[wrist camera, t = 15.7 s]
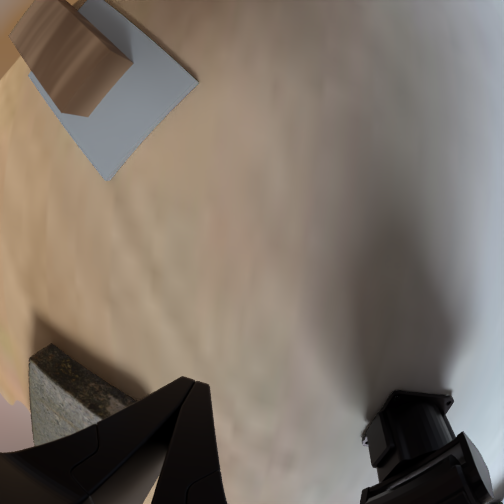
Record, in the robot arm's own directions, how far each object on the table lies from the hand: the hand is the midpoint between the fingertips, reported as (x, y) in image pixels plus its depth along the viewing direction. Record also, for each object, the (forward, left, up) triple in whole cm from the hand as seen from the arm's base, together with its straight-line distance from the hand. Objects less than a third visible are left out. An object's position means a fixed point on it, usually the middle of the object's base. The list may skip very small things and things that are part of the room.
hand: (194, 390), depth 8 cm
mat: (+14, -11, -12) cm, 22 cm away
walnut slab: (+12, -10, -10) cm, 19 cm away
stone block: (+13, +24, -13) cm, 30 cm away
